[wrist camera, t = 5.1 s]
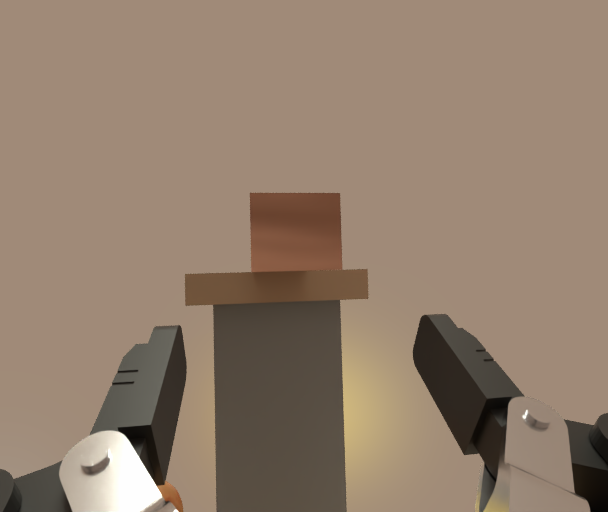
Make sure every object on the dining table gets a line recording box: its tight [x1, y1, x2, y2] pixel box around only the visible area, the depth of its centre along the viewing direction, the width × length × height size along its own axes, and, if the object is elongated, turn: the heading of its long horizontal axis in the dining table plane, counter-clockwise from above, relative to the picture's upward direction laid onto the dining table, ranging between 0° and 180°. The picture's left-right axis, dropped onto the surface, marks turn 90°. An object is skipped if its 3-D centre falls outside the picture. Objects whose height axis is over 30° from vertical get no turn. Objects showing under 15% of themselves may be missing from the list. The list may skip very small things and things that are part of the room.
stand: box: [185, 269, 368, 512], centre depth 31 cm, size 16×12×32 cm
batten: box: [250, 193, 342, 272], centre depth 27 cm, size 26×4×3 cm, turn 8°
